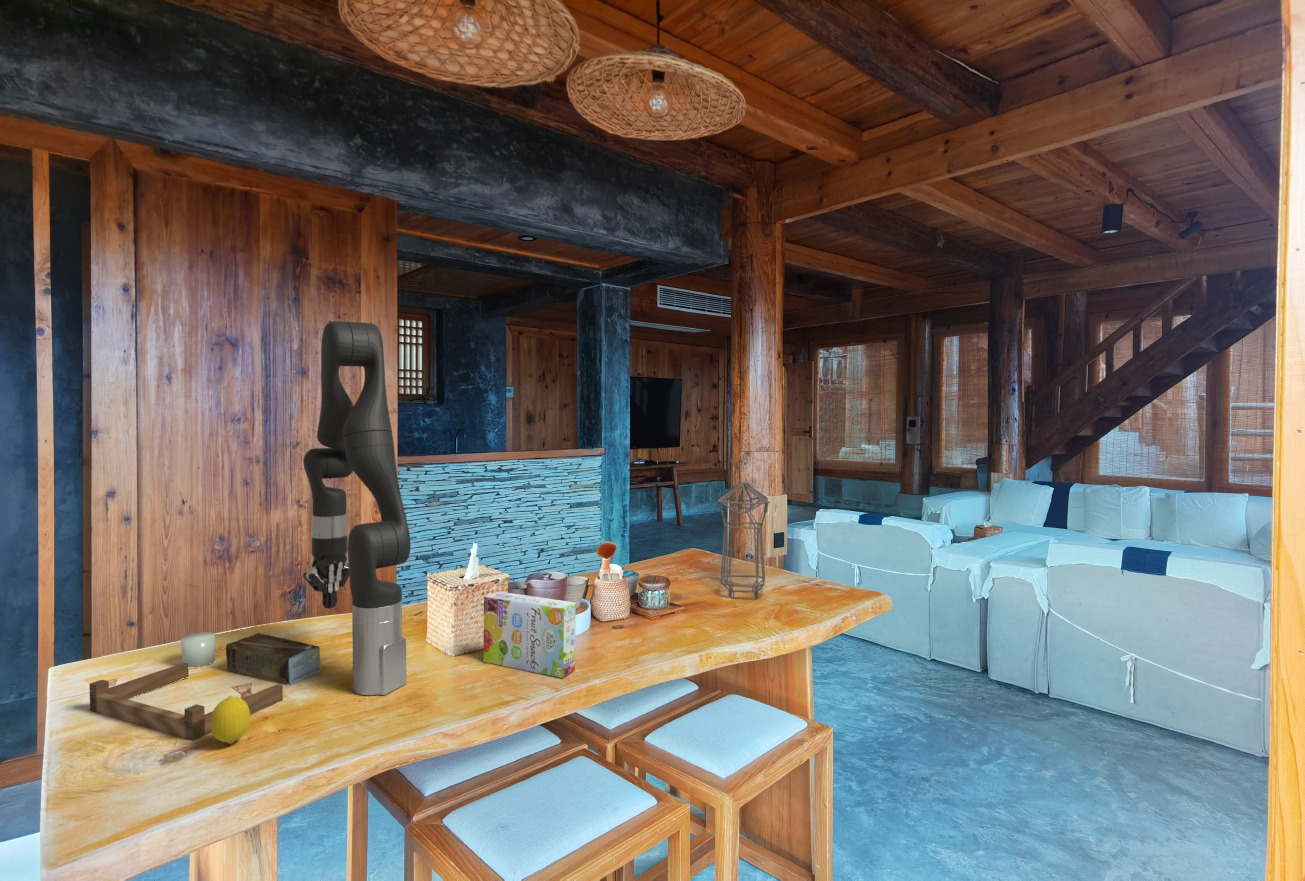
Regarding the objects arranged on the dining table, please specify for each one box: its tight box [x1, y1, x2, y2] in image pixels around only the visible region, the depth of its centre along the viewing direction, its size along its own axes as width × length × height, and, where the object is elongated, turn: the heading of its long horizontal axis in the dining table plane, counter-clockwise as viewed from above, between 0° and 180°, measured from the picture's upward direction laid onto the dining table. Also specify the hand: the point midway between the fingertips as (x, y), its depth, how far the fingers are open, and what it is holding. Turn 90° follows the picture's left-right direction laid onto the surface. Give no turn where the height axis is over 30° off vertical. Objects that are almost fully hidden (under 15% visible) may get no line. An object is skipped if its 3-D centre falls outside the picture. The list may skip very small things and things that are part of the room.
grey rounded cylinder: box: [180, 631, 216, 667], centre depth 143 cm, size 6×6×6 cm
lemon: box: [211, 695, 251, 745], centre depth 109 cm, size 6×6×8 cm
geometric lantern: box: [717, 481, 771, 601], centre depth 201 cm, size 16×16×35 cm
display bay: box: [88, 662, 284, 741], centre depth 123 cm, size 28×17×5 cm, turn 68°
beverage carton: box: [225, 632, 321, 686], centre depth 139 cm, size 8×19×7 cm, turn 68°
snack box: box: [482, 591, 577, 679], centre depth 143 cm, size 21×6×15 cm, turn 65°
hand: (329, 607), depth 153 cm, fingers closed
